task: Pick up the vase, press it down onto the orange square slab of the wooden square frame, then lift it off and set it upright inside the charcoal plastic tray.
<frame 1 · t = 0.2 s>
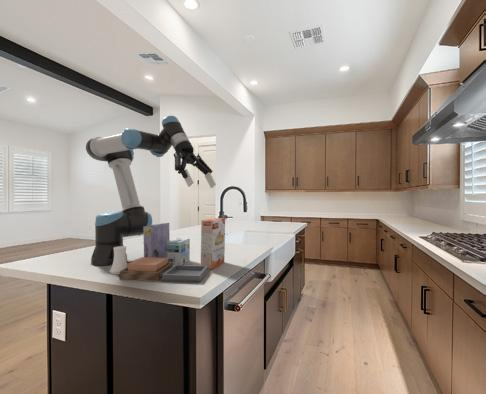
hand: (202, 185, 109), 35 cm above the counter, tool tilted 35°, fingers open, 13 cm apart
wooden square frame: (148, 274, 106), on the counter
tray: (186, 276, 104), on the counter
orange square slab: (148, 264, 106), point 4 cm above the counter, slide at 0.2 cm
cake pan box: (157, 261, 128), on the counter
cracker box: (213, 265, 120), on the counter
vase: (119, 272, 110), on the counter
light bulb box: (178, 263, 125), on the counter
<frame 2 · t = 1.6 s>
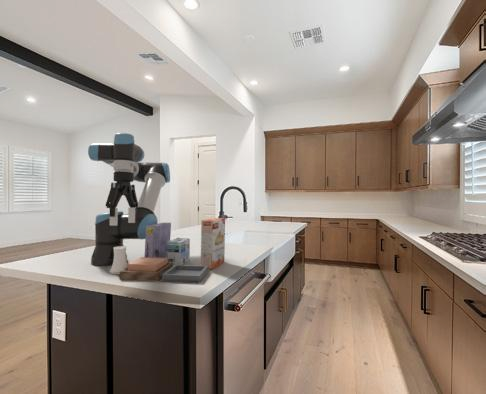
hand: (123, 224, 109), 20 cm above the counter, tool pointing down, fingers open, 13 cm apart
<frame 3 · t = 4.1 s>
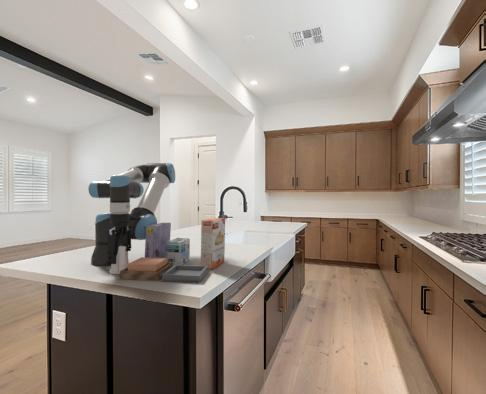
hand: (119, 269, 110), 1 cm above the counter, tool pointing down, fingers closed on vase, 6 cm apart
cake pan box: (157, 260, 128), on the counter, touching arm
vase: (119, 272, 110), on the counter, touching gripper
everything else where it was.
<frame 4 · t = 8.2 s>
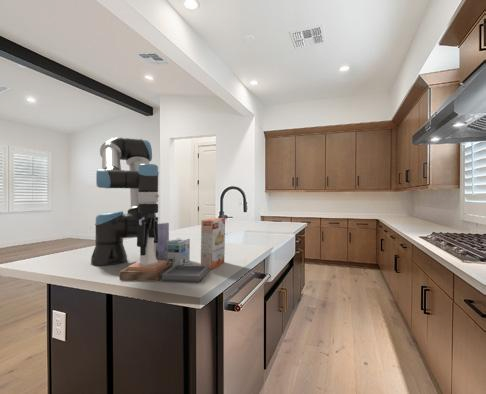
hand: (148, 261, 106), 5 cm above the counter, tool pointing down, fingers closed on vase, 6 cm apart
orange square slab: (148, 266, 106), point 3 cm above the counter, slide at 1.3 cm, touching vase
cake pan box: (157, 261, 128), on the counter
vase: (147, 264, 106), point 4 cm above the counter, touching orange square slab, gripper
everything else where it was.
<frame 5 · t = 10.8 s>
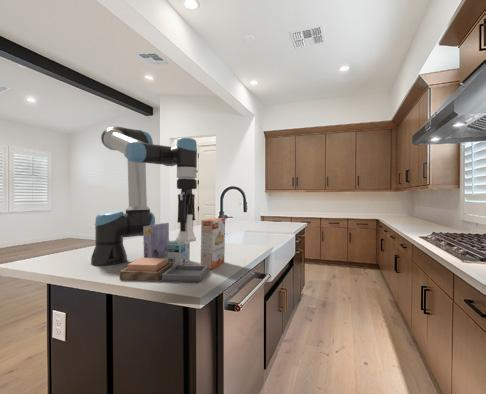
hand: (186, 238, 104), 15 cm above the counter, tool pointing down, fingers closed on vase, 6 cm apart
orange square slab: (148, 264, 106), point 4 cm above the counter, slide at 0.4 cm
vase: (186, 241, 104), point 14 cm above the counter, touching gripper
everything else where it was.
when the fingers open (3 cm above the counter, at t = 13.1 s): vase drops 1 cm, resting on tray.
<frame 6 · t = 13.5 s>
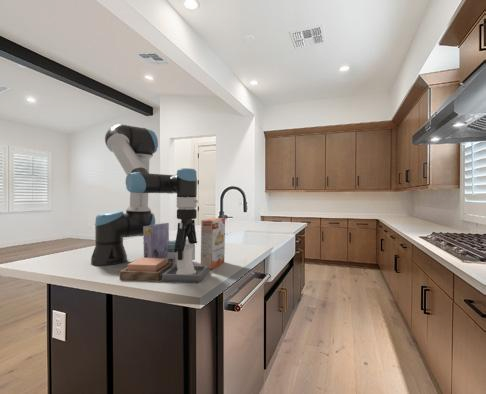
hand: (186, 263, 104), 5 cm above the counter, tool pointing down, fingers open, 12 cm apart
vase: (186, 274, 104), point 1 cm above the counter, touching tray
everything else where it was.
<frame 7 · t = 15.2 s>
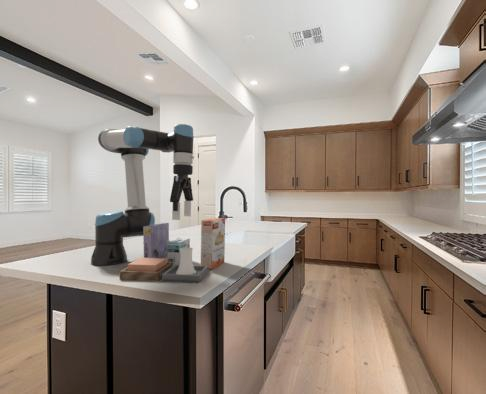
hand: (182, 218, 107), 22 cm above the counter, tool pointing down, fingers open, 13 cm apart
nothing on the counter moved.
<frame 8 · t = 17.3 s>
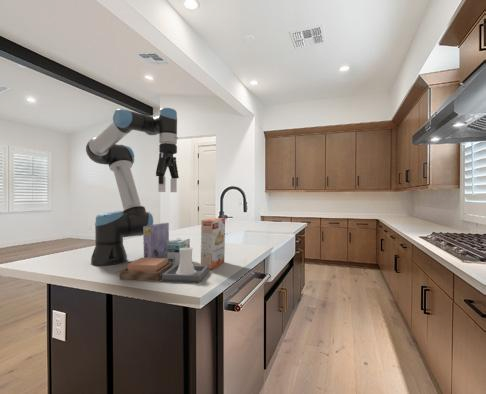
hand: (168, 192, 119), 33 cm above the counter, tool pointing down, fingers open, 13 cm apart
nothing on the counter moved.
at the end: vase inside the target area on the tray (0.2 cm from its centre), point 0.6 cm above the tray's base; vase tilted 0°; the gripper is holding nothing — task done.
